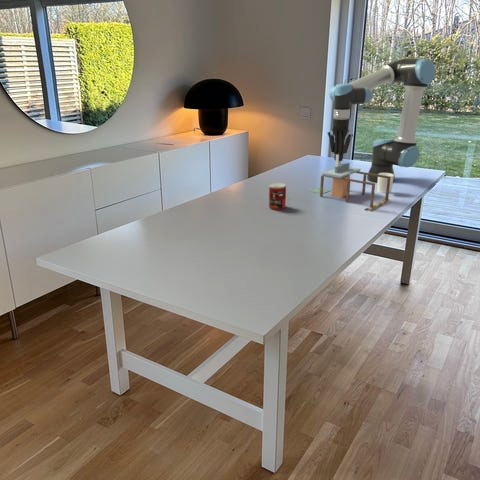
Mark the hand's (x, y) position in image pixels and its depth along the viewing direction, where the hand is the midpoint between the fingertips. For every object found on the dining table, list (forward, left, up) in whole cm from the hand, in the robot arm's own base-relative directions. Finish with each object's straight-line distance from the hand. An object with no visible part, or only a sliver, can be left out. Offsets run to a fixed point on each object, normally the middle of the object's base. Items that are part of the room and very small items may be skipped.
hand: (337, 167), depth 232 cm
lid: (0, +2, -2) cm, 3 cm away
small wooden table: (0, +5, -15) cm, 16 cm away
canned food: (+33, -12, -15) cm, 38 cm away
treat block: (0, +2, -14) cm, 14 cm away
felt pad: (0, -10, -14) cm, 17 cm away
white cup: (-21, +16, -15) cm, 30 cm away
